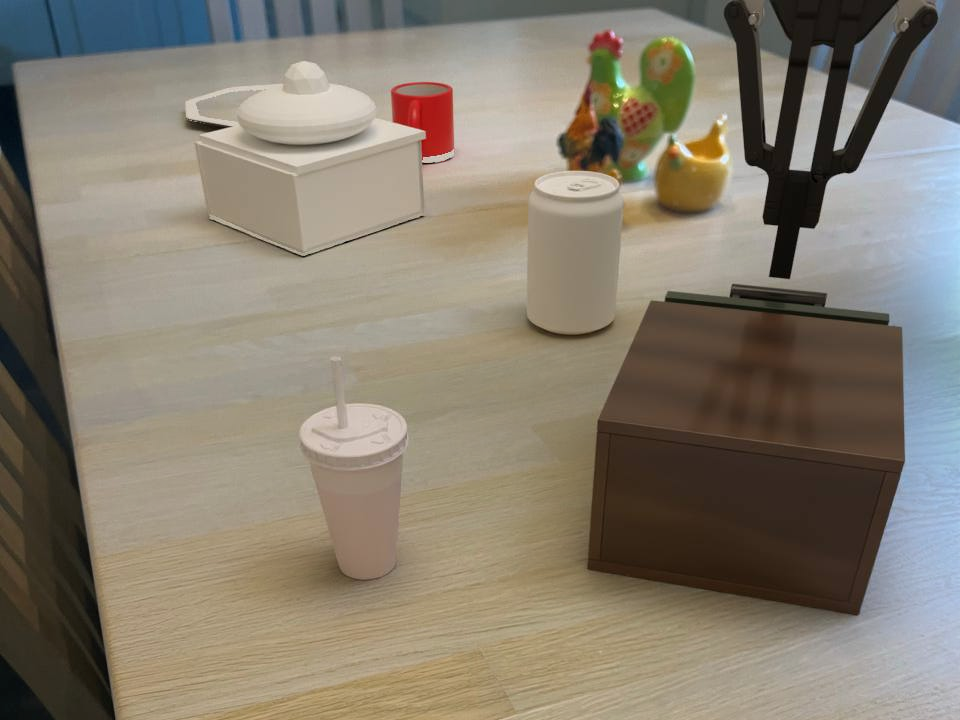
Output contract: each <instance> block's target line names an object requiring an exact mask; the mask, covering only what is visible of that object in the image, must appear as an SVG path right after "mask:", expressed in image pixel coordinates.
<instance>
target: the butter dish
mask: <svg viewBox="0 0 960 720" xmlns="http://www.w3.org/2000/svg"><path fill="white" fill-rule="evenodd" d="M327 77H328V76H327V75H326V73H325V72H324V70H323V69H322V68H321V67H320V66H319V65H318V64H317V63H315V62H310V61H306V60H302V61H299V62H295V63H293V64H291V65H290V66H289V68H288V69H287V71H286V72H285V74H284V76H283V82H282V84H283V85H281V86H277V87H273V88H269V89H266V90H263V91H261V92H259V93H257V94H255V95H253V96H251V97H249V98H248V99H247V100H245V101H244V102H243V103H242V104H241V105H240V107H239V108H238V111H237V116H236V118H237V120H238V123H239V125H238V126H233V127H229V128H225V127H224V128H221V129H218V130H217V129H216V130H213V131H209V132H205V133H201V134H198V138H199V140H197V141H194V145H195V146H194V147H195V152H196V158H197V163H198V168H199V175H200V179H201V185H202V186H201V187H202V191H203V194H204V202H205V207H206V212H207V214H208V213H209V214H211V215H214V216H216V217H219V218H221V219H223V220H225V221H227V222H230V223H232V224H234V225H236V226H239V227H241V228H243V229H245V230H247V231H250V232H252V233H254V234H257V235H259V236H261V237H263V238H266V239H268V240H271V241H273V242H276V243H278V244H281V245H283V246H286V247H288V248H291V249H293V250H296V251H298V252H301V253H305V252H308V251H310V250H313V249H316V248H319V247H322V246H325V245H329V244H332V243H336V242H338V241H342V240H345V239H348V238H351V237H353V236H357V235H360V234H363V233H366V232H369V231H372V230H376V229H378V228H380V227H383V226H387V225H389V224H392V223H395V222H398V221H400V220H404V219H407V218H409V217H412V216H415V215H418V214H421V213H424V212H425V211H426V210H425V191H424V190H425V189H424V175H423V174H424V172H423V169H424V168H423V164H422V148H421V140H423V139H426V132H425V131H423V130H419V129H416V128H412V127H408V126H404V125H401V124H397V123H393V121H389V120H386V119H382V118H378V117H377V114H378V108H377V106H376V102H374V101H373V100H372V99H371V97H369V95H367V94H365V93H363V92H362V91H360V90H359V89H356V88H352V87H350V86H346V85H342V84H337V83H332V82H331V83H329V80H328V78H327ZM425 213H426V212H425Z"/></svg>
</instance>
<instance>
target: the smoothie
mask: <svg viewBox="0 0 960 720" xmlns="http://www.w3.org/2000/svg"><path fill="white" fill-rule="evenodd" d="M330 366H331V373H332V383H333V390H334V399H335V400H334V401H335V405H334V406H331V407H327V408H324V409H322V410H319V411H317V412H315V413H314V414H312V415H310V416H309V417H308V418H307V419H305V420H304V422H303V423H302V424H301V426H300V428H299V431H298V435H299V436H298V437H299V448H300V453H301V454H302V455H303V457H304V458H305V459H306V460H307V461H308V462H309V465H310V466H309V468H310V470H311V474H312V478H313V480H314V484H315V487H316V491H317V495H318V499H319V501H320V505H321V508H322V512H323V516H324V519H325V522H326V523H325V524H326V526H327V528H328V533H329V537H330V540H331V544H332V547H333V551H334V555H335V557H336V561H337V565H338V568H339V570H340V572H341V573H343V575H345V576H346V577H349V578H351V579H354V580H361V581H363V580H365V581H366V580H375V579H378V578H381V577H384V576H385V575H386V576H387V574H389V573H390V572H391V571H393V569H394V568H395V567H396V565H397V552H398V539H399V538H398V537H399V523H400V508H401V491H402V474H403V464H404V463H403V461H404V453H405V451H406V450H407V449H408V447H409V442H410V437H409V433H408V424H407V422H406V420H405V418H404V417H403V416H402V415H401V414H400V413H399V412H397V411H395V410H394V409H391V408H389V407H387V406H384V405H378V404H374V403H364V402H363V403H362V402H361V403H360V402H359V403H354V402H353V403H347V402H346V394H345V386H344V377H343V366H342V358H341V357H340V356H338V355H337V356H331V357H330Z"/></svg>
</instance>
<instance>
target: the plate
mask: <svg viewBox="0 0 960 720" xmlns="http://www.w3.org/2000/svg"><path fill="white" fill-rule="evenodd" d="M281 85H283V83H273V84H257V85H256V84H255V85H242V86H241V85H240V86H232V87H226V88H222V89H219V90H216V91H213V92H210V93H207V94H203V95H200V96H197V97H193V98H190V99H187V100H186V101H185V102H184V110H185V118H186V120H187V119H188V120H187V121H189V120H192V121H197V122H201V123H200V124H202V123H205V124H204V125H208V124H210V125H209V126H214V125H215V126H216V127H219V128H224V129H225V128H229V127H233V126H238V125H239V123H238V122H235V121H228V120H221V119H214V118H207V117H204V116H200V115H199V113H198V111H199V110H198V109H197V106H196V102H198V101H200V100H204V99H208V98H212V97H213V96H214V97H216V96H217V95H218V96H219V95H221V94H225V93H229V92H234V91H235V92H238V91H246V90H247V91H249V90H253V91H256V90H264V89H269V88H273V87H277V86H281ZM215 126H214V127H215Z"/></svg>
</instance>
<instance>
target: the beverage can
mask: <svg viewBox="0 0 960 720" xmlns="http://www.w3.org/2000/svg"><path fill="white" fill-rule="evenodd" d="M624 203H625V200H624V197H623V194H622V193H621V190H620V182H619V181H618V180H617V179H616V178H615V177H613V176H612V175H609V174H605V173H602V172H596V171H588V170H564V171H556V172H551V173H547V174H544V175H542V176H540V177H538V178H537V179H536V180H535V181H534V188H533V189H532V192H531V193H530V194H529V198H528V204H527V206H528V207H527V209H528V210H527V258H526V259H527V262H526V317H527V319H528V320H529V321H530V322H531V323H532V324H533V325H535V326H537V327H539V328H541V329H543V330H545V331H547V332H550V333H553V334H558V335H567V336H568V335H569V336H570V335H571V336H574V335H584V334H590V333H593V332H596V331H598V330H601V329H603V328H606V327H607V326H608V325H610V324H611V323H612V322H613V321H614V319H615V317H616V312H617V311H616V309H617V299H618V298H617V296H618V286H619V285H618V283H619V269H620V259H621V258H620V257H621V245H622V242H621V241H622V233H623V218H624Z"/></svg>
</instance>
